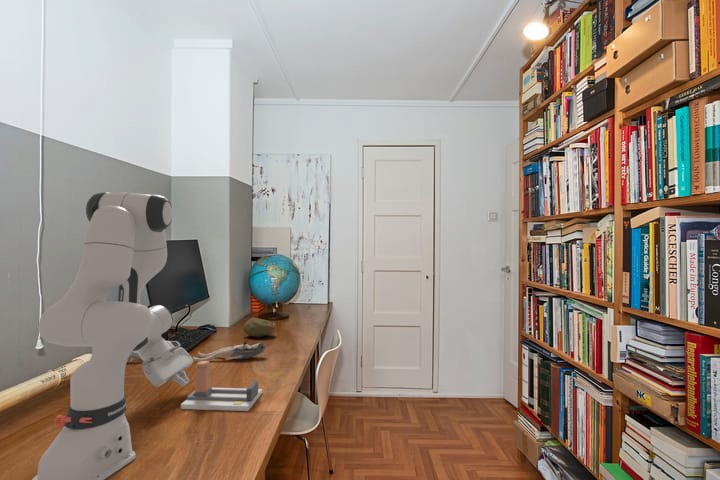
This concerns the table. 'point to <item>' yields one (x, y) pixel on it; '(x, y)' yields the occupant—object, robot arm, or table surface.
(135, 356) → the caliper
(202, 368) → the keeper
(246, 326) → the decorative stone
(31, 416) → the table surface
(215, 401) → the rail board
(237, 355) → the anime figure
